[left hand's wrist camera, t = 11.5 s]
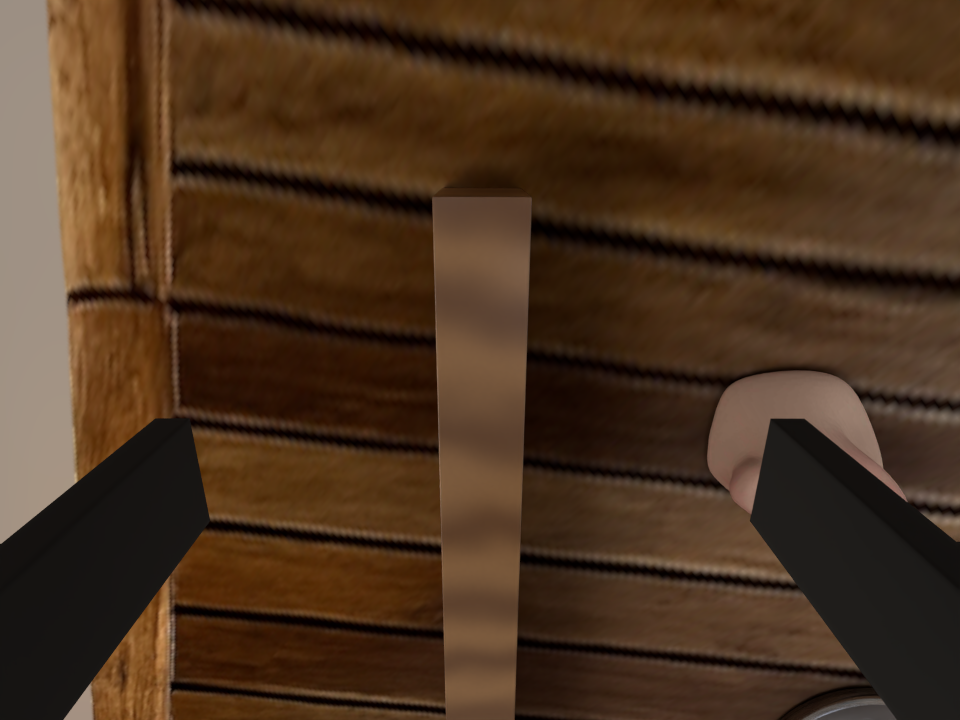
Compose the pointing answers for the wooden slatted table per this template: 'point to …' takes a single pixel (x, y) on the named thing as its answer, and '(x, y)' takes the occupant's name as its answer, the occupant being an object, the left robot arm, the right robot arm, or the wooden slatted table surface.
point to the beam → (481, 437)
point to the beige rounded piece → (786, 397)
